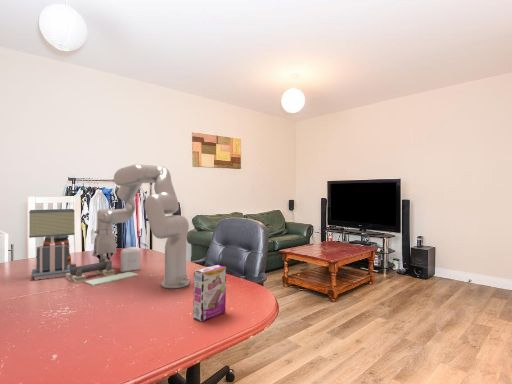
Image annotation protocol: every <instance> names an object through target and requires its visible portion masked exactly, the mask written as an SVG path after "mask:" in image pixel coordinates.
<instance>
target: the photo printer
mask: <svg viewBox="0 0 512 384" xmlns="http://www.w3.org/2000/svg"><path fill="white" fill-rule="evenodd" d="M119 267H120V269H119V271H120V272H121V273H126V272H132V271H138V270H140V269H141V248H140V247H135V246H129V247H125V248H122V249H121V250H120V266H119Z"/></svg>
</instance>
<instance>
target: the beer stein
mask: <svg viewBox="0 0 512 384" xmlns="http://www.w3.org/2000/svg"><path fill="white" fill-rule="evenodd" d="M69 238H70V235H65V236H54V243H55V246H56V245H62V242H64V245H67V266H68V265H70V264H72V257H71V256H72V255H71V253H70V246H71V245H70V240H69ZM50 243H51V236H49V237H44V241H43V243H42V244H43V247H44V246H50Z"/></svg>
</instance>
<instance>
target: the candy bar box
mask: <svg viewBox="0 0 512 384" xmlns="http://www.w3.org/2000/svg"><path fill="white" fill-rule="evenodd" d="M226 286H227V267H226V266H223V265H219V264H216V265H212V266H207V267H203V268H199V269H195V270H193V297H192V298H193V300H192V301H193V305H192V319H194V320H197V321H198V322H201V323H202V322H205V321H207V320H210V319H212V318H214V317H217V316H219V315H222V314H225V313H226V299H227V298H226V295H227V294H226V293H227V292H226V290H227V287H226Z"/></svg>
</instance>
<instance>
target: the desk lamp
mask: <svg viewBox="0 0 512 384" xmlns="http://www.w3.org/2000/svg"><path fill="white" fill-rule="evenodd" d="M28 214H29V216H28V217H29V221H28V222H29V224H28V226H29V229H28V230H29V233H28V234H29V235H28V237H29V239H31V238H34V239H35V238H45V237H49V236H51V243H50V246H44V247H43V243H39V246H37V247H36V268H33V269H31V276H30V278H33V277H34V281H38V280H37V279H41V280H47V279H46V278H49V279H54V278H55V277H57V278H63V277H66V273H70V264H69V265H67V245H64V242H62V245H56V246H55V243H54V236H65V235H68V236H75V209H73V208H65V209H64V208H57V209H30V210H29V212H28Z"/></svg>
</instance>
